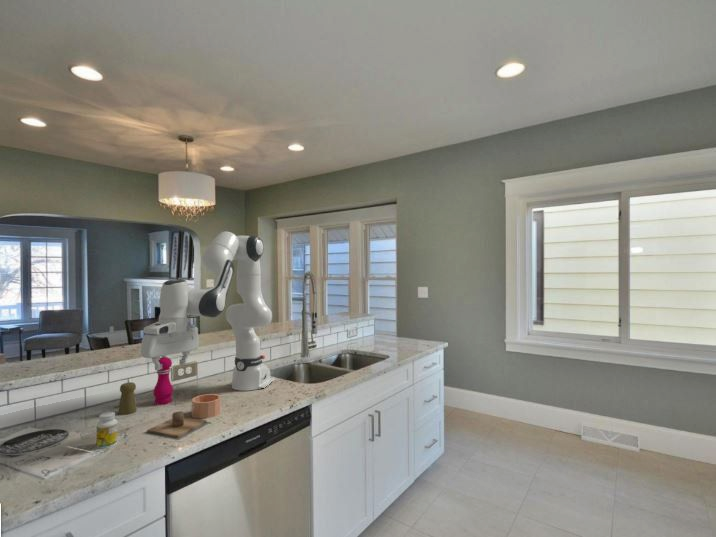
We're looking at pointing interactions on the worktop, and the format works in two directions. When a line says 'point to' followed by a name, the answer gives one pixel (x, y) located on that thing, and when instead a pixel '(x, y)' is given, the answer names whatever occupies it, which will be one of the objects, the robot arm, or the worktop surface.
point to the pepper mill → (163, 382)
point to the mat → (174, 437)
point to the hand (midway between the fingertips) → (170, 367)
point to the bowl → (206, 406)
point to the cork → (127, 399)
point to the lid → (177, 426)
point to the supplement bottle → (106, 430)
